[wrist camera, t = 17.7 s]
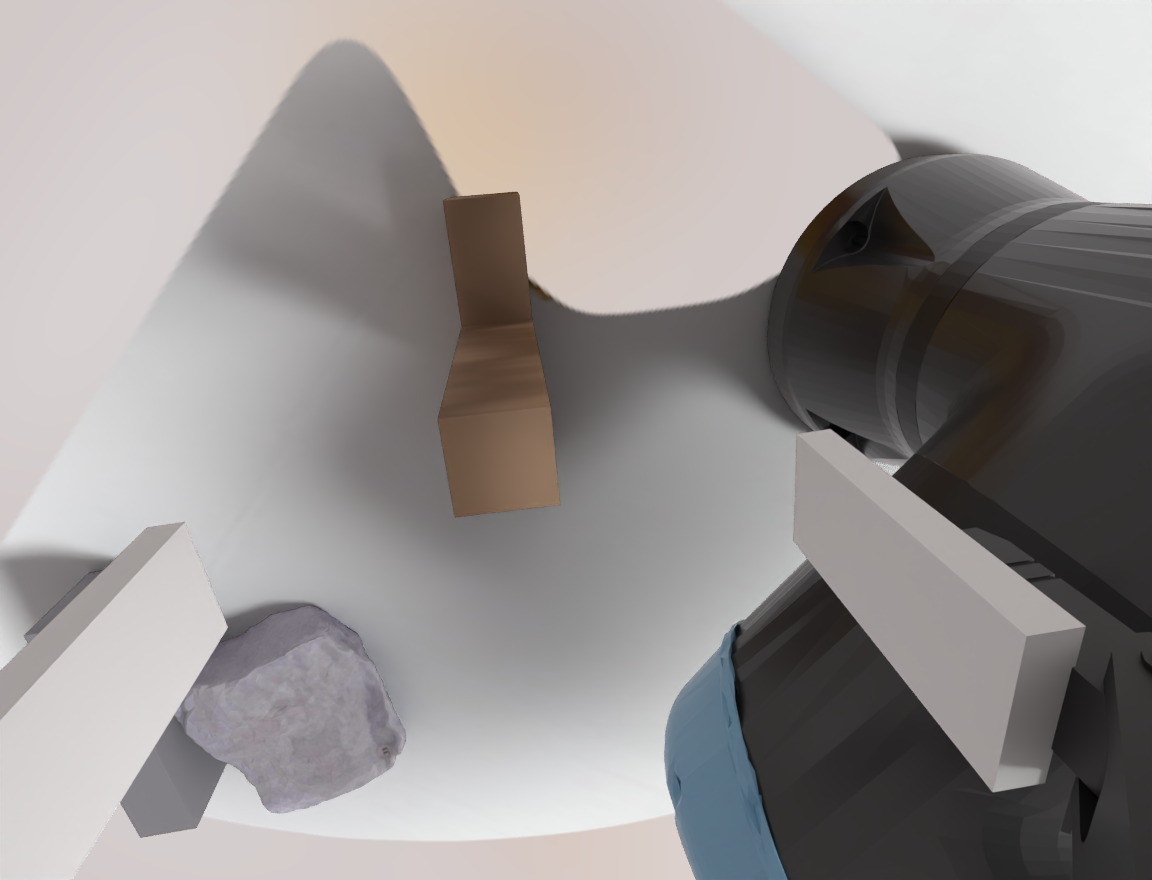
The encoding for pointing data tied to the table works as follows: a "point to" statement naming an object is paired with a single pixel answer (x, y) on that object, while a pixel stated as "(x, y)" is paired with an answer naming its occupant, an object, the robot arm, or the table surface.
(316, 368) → the table surface
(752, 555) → the table surface
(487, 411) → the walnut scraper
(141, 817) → the block
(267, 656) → the stone block
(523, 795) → the table surface
